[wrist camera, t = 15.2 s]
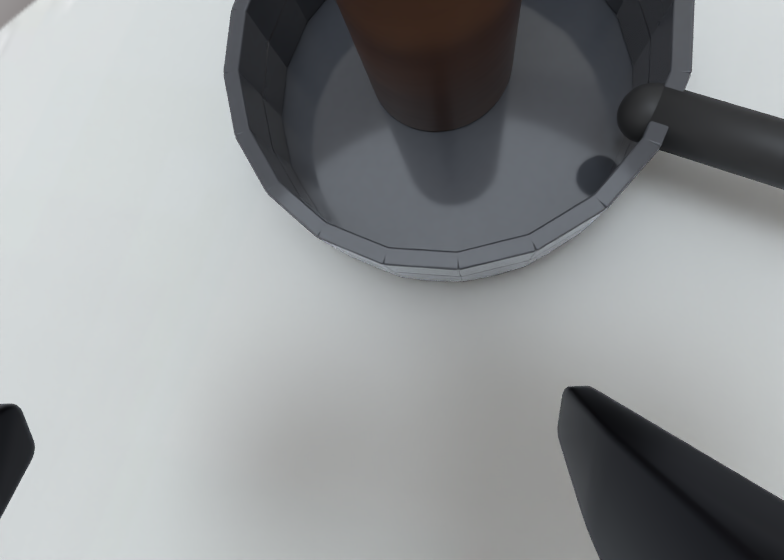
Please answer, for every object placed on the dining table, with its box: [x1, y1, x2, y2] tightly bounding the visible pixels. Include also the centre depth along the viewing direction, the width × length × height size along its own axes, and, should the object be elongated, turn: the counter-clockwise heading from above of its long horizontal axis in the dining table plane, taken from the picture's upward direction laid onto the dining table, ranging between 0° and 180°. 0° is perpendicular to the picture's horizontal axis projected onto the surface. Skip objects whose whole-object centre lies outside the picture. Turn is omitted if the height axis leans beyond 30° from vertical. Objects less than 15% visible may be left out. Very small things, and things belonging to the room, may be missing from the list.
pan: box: [224, 0, 695, 282], centre depth 18 cm, size 15×15×4 cm
